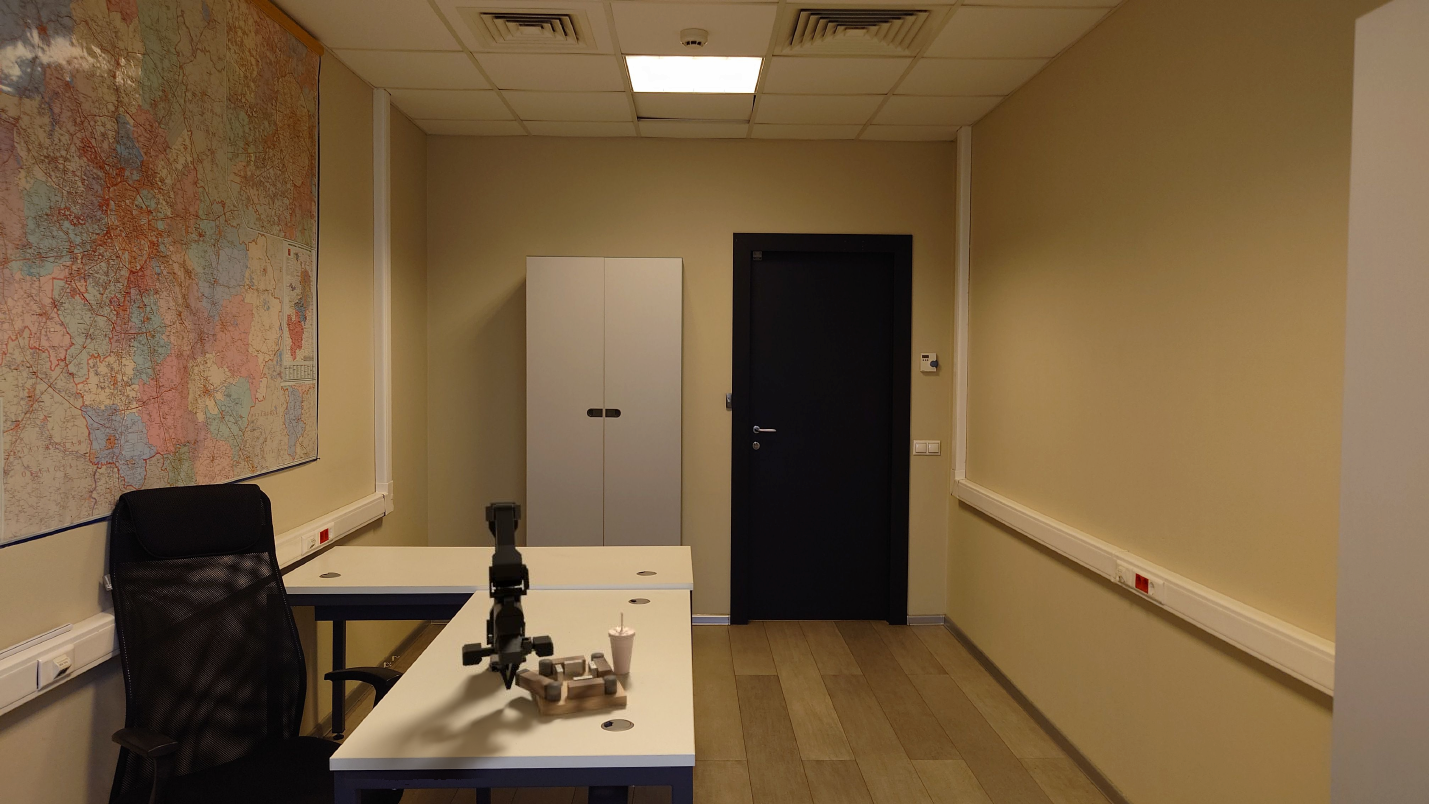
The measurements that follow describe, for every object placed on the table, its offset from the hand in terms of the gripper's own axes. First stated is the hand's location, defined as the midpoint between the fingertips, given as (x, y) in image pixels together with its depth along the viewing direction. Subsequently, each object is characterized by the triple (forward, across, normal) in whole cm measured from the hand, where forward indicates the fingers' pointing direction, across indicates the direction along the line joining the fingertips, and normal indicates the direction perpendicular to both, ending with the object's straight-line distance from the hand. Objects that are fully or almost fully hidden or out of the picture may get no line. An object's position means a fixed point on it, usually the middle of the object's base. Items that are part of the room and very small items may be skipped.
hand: (508, 689), depth 169 cm
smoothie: (+3, +27, +9) cm, 29 cm away
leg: (+1, +6, -2) cm, 6 cm away
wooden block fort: (+3, +15, +1) cm, 15 cm away
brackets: (+1, +15, +1) cm, 15 cm away
